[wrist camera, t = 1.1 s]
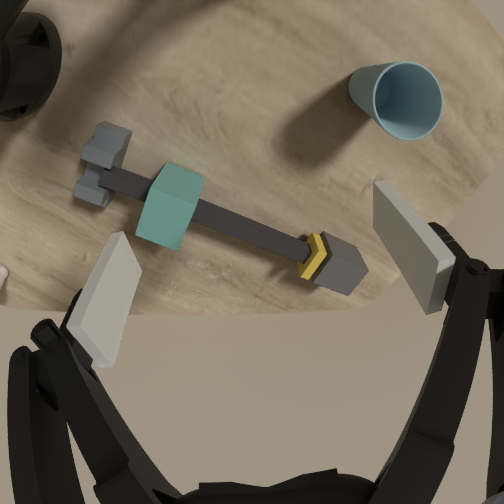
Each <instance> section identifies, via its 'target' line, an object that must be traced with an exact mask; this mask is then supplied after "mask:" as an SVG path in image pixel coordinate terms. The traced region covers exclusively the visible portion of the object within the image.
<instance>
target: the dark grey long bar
mask: <svg viewBox="0 0 504 504" xmlns="http://www.w3.org/2000/svg"><path fill="white" fill-rule="evenodd" d="M153 183H154V181H153V180H150V179H148V178H145V177H143V176H140V175H137V174H135V173H132V172H129V171H127V170H124V169H121V168H119V167H116V166H113V167H112V168H111V169H108V168H104V169H103V171H102V175H101V179H100V183H99V185H101V186H104V187H106V188H109V189H111V190H114V191H117V192H119V193H122V194H125V195H127V196H130V197H132V198H135V199H138V200H140V201H143V202H146V199H147V196H148V193H149V190H150V187H151V186H152V184H153ZM191 220H192V221H195V222H197V223H200V224H202V225H205V226H207V227H210V228H213V229H215V230H218V231H220V232H223V233H225V234H228V235H230V236H233V237H236V238H238V239H241V240H243V241H246V242H248V243H251V244H253V245H256V246H259V247H261V248H264V249H266V250H269V251H271V252H274V253H276V254H279V255H281V256H284V257H286V258H289V259H292V260H294V261H297V264H298V268H299V273H300V277H302V278H305V279H307V280H309V278H310V277H311V276H312V274H313V273H314V272H315V270H316V269H317V268H318V267H319V266H320V264H321V263H322V262H323V260H324V259H325V256H326V255H327V253H326V250H325V247H324V245H323V242H322V240H321V237H320V235H318V234H316V233H313V232H312V233H311V235H310V236H309V238H308V239H307V241H306V242H304V241H301V240H299V239H297V238H294V237H292V236H289V235H287V234H285V233H282V232H280V231H278V230H275V229H273V228H270V227H268V226H266V225H263V224H261V223H258V222H256V221H254V220H251V219H249V218H246V217H244V216H241V215H239V214H236V213H234V212H232V211H229V210H227V209H224V208H222V207H219V206H217V205H214V204H212V203H209V202H207V201H204V200H202V199H198V203H197V206H196V208H195V211H194V213H193V215H192V218H191Z"/></svg>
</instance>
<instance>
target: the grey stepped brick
mask: <svg viewBox="0 0 504 504" xmlns="http://www.w3.org/2000/svg"><path fill="white" fill-rule="evenodd" d="M131 134H132V131H131V130H128V129H125V128H123V127H120V126H117V125H114V124H111V123H108V122H105V121H104V122H102V123H100V124H98V125H97V126H96V128H95V132H94V135H93V138H92V139H91V140H89V141H88V142H86V143H85V144H84V145H83V149H82V153H81V157H80V158H81V159H83V160H86V161H87V163H86V167H85V171H84V175H83V176H82V177H81V178H80V179H79V180H78V181H76V182H75V186H74V191H73V196H75V197H77V198H80V199H82V200H85V201H88V202H90V203H93V204H95V205H98V206H100V207H103V208H106V207H107V206H108V204H109V203H110V202H111V200H112V198H113V194H114V190H111V189H109V188H106V187H104V186H101V185H99V183H100V179H101V175H102V171H103V169H104V168H108V169H111V168H112V167H113V166H116V167H119V168H121V166H122V162H123V159H124V156H125V153H126V149H127V146H128V143H129V140H130V137H131Z"/></svg>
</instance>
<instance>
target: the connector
mask: <svg viewBox="0 0 504 504" xmlns="http://www.w3.org/2000/svg"><path fill="white" fill-rule="evenodd" d="M320 237H321V240H322V242H323V245H324V247H325V250H326V253H327V255H326V256H325V259H324V260H323V262H322V263H321V264H320V266H319V267H318V268H317V269H316V270H315V272H314V273H313V274H312V276H311V278H312V282H313V283H314V284H317V285H320V286H322V287H325V288H328V289H330V290H333V291H336V292H338V293H341V294H344V295H346V296H349V295H350V293H351V292H352V291H353V290H354V289H355V287H356V286H357V285H358V284H359V282H360V281H361V280H362V279H363V278H364V276H365V275H366V274H367V273H368V271H369V270H368V268H367V266H366V264H365V262H364V260H363V258H362V256H361V254H360V252H359V250H358V249H357V247H356V246H354V245H352V244H349V243H347V242H345V241H343V240H341V239H339V238H337V237H334V236H332V235H330V234H328V233H326V232H324V231H323V233H322V234H321V236H320Z"/></svg>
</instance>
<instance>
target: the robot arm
mask: <svg viewBox="0 0 504 504" xmlns="http://www.w3.org/2000/svg"><path fill="white" fill-rule="evenodd" d="M28 1H29V0H0V121H1V122H9V121H14V120H17V119H20V118H22V117H25V116H27V115H29V114H31V113H33V112H34V111H36V110H37V109H38V108H39V107H40V106H41V105H42V104H43V103H44V102H45V101H46V99H47V98H48V96H49V95H50V93H51V92H52V90H53V88H54V86H55V83H56V81H57V78H58V75H59V71H60V67H61V59H62V48H61V41H60V37H59V34H58V31H57V29H56V27H55V26H54V24H53V23H52V22H51V21H50V20H49V19H48V18H47V17H45V16H43V15H41V14H38V13H29V12H21V11H22V10H23V8H24V7H25V5H26V4H27V2H28ZM20 12H21V13H20ZM373 228H374V230H375V231H376V233H377V234H378V236H379V237H380V239H381V240H382V242H383V244H384V245H385V247H386V248H387V250H388V251H389V253H390V255H391V256H392V258H393V259H394V261H395V263H396V264H397V266H398V268H399V269H400V271H401V272H402V274H403V276H404V277H405V279H406V281H407V283H408V284H409V286H410V288H411V289H412V291H413V293H414V295H415V296H416V298H417V300H418V302H419V303H420V305H421V307H422V309H423V311H424V312H425V314H426V315H428V314H431V313H435V312H438V311H441V310H442V307H443V303H444V300H445V301H446V303H447V305H448V306H449V308H448V311H447V314H446V317H445V320H444V323H443V329H442V332H441V335H440V338H439V342H438V344H437V347H436V350H435V353H434V356H433V359H432V362H431V365H430V368H429V370H428V373H427V376H426V378H425V381H424V383H423V386H422V388H421V391H420V393H419V396H418V398H417V400H416V403H415V405H414V407H413V410H412V412H411V414H410V417H409V419H408V421H407V423H406V425H405V427H404V429H403V431H402V434H401V435H400V438H399V440H398V441H397V443H396V445H395V448H394V449H393V451H392V453H391V455H390V457H389V458H388V460H387V462H386V463H385V466H384V467H383V469H382V470H381V472H380V474H379V475H378V477H377V479H376V480H375V482H374V483H373V482H372V481H370V480H368V479H365V478H362V477H359V476H355V475H350V474H338V473H337V469H336V468H335V469H330V470H325V471H320V472H314V473H309V474H302V475H300V476H298V477H295V478H292V479H289V480H287V481H284V482H281V483H278V484H276V485H273V486H270V487H260V486H252V485H246V484H240V483H235V482H213V483H199V489H197V490H194V491H191V492H189V493H187V494H185V495H182V494H181V493H180V492H179V491H178V490H177V489H175V488H174V487H173V486H172V485H171V484H170V483H169V482H168V481H167V480H166V479H165V477H164V476H163V475H162V474H161V473H160V471H159V470H158V468H157V467H156V466H155V465H154V463H153V462H152V460H151V459H150V458H149V456H148V455H147V454H146V452H145V451H144V450H143V448H142V447H141V445H140V444H139V442H138V441H137V440H136V438H135V437H134V435H133V434H132V432H131V431H130V429H129V428H128V426H127V425H126V423H125V422H124V420H123V419H122V417H121V415H120V414H119V412H118V411H117V409H116V407H115V406H114V404H113V402H112V401H111V399H110V397H109V396H108V394H107V392H106V391H105V389H104V387H103V385H102V384H101V382H100V380H99V378H98V376H97V375H96V373H95V371H94V370H93V369H92V368H91V364H92V361H94V362H95V363H96V364H97V365H98V366H99V367H100V368H106V367H114V364H115V360H116V356H117V352H118V348H119V345H120V341H121V338H122V334H123V331H124V327H125V324H126V320H127V317H128V314H129V310H130V307H131V304H132V301H133V298H134V294H135V291H136V288H137V285H138V282H139V279H140V276H141V273H142V270H141V268H140V266H139V263H138V261H137V259H136V257H135V255H134V253H133V251H132V249H131V247H130V245H129V242H128V240H127V238H126V236H125V234H124V231H122V232H118V233H114V234H111V236H110V237H109V239H108V241H107V243H106V245H105V247H104V249H103V250H102V252H101V254H100V256H99V258H98V260H97V262H96V264H95V266H94V268H93V270H92V272H91V274H90V276H89V278H88V280H87V282H86V284H85V286H84V288H82V289H80V290H79V291H78V293H77V294H76V295H75V296H74V298H73V300H72V302H71V304H70V305H71V306H69V308H68V312H67V313H66V315H65V317H64V320H63V322H62V324H61V326H60V328H58V327H57V326H56V324H55V323H54V322H53V320H52V319H49V318H48V319H44V320H42V321H40V322H39V323H38V324H37V325H35V327H34V328H33V330H32V332H31V337H30V338H31V340H32V341H33V342H34V343H35V344H36V345H37V347H38V348H39V350H37V351H34V352H31V350H30V349H29V348H28V347H27V346H21V347H19V348H18V349H16V350H15V351H14V352H13V354H12V356H11V358H10V362H9V375H8V399H7V422H8V445H9V460H10V470H11V479H12V486H13V493H14V499H15V504H85V501H84V498H83V494H82V491H81V487H80V483H79V479H78V476H77V471H76V467H75V463H74V458H73V454H72V449H71V444H70V439H69V434H68V428H67V423H68V425H69V428H70V430H71V432H72V434H73V437H74V439H75V441H76V443H77V445H78V447H79V449H80V451H81V453H82V455H83V457H84V459H85V461H86V463H87V465H88V467H89V469H90V471H91V473H92V474H93V476H94V478H95V480H96V485H94V486H93V489H94V492H95V495H96V497H97V498H98V500H99V502H100V503H101V504H431V501H432V500H433V497H434V496H435V493H436V492H437V489H438V487H439V485H440V483H441V481H442V479H443V476H444V474H445V472H446V470H447V467H448V465H449V463H450V460H451V458H452V455H453V452H454V447H455V446H454V443H453V442H454V438H455V435H456V432H457V429H458V427H459V424H460V421H461V418H462V415H463V412H464V409H465V405H466V402H467V398H468V395H469V392H470V388H471V384H472V381H473V377H474V373H475V369H476V365H477V360H478V355H479V351H480V346H481V341H482V336H483V330H484V324H485V319H488V321H489V330H490V340H491V352H492V370H493V371H492V372H493V417H492V418H493V419H492V436H491V448H490V458H489V467H488V475H487V494H486V500H485V501H484V502H483V503H482V504H504V269H490V268H489V267H488V265H487V264H485V263H484V262H483V261H480V260H478V259H472V258H470V257H469V256H468V255H467V254H466V252H465V251H464V250H463V249H462V248H461V247H460V245H459V244H458V243H457V242H456V241H454V239H453V237H452V236H451V235H450V234H449V233H448V232H447V231H446V229H445V228H444V227H442V226H441V225H439V224H437V223H435V222H431V223H426V221H425V220H424V219H423V218H422V217H421V216H420V215H419V214H418V212H417V211H416V210H415V209H414V208H413V207H412V206H411V205H410V204H409V203H408V202H407V201H406V199H405V198H404V197H403V196H402V195H401V194H400V193H399V192H398V191H397V190H396V189H395V188H394V187H393V186H392V185H391V184H390V183H389V182H388V181H387V180H381V181H375V182H373Z"/></svg>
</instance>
